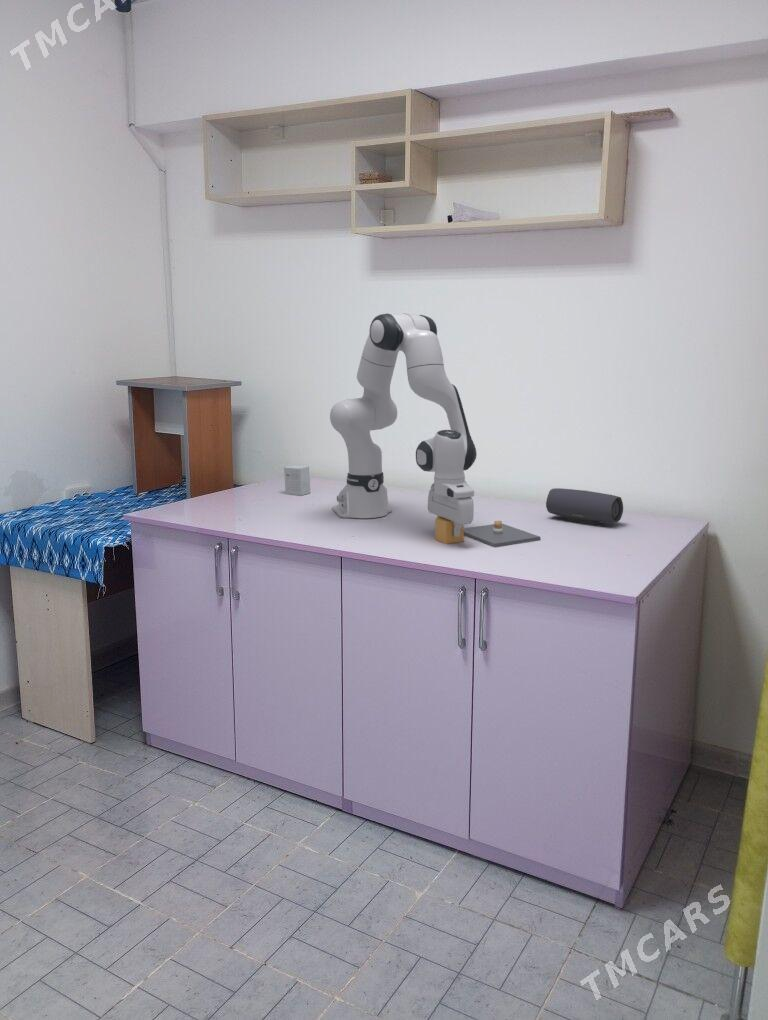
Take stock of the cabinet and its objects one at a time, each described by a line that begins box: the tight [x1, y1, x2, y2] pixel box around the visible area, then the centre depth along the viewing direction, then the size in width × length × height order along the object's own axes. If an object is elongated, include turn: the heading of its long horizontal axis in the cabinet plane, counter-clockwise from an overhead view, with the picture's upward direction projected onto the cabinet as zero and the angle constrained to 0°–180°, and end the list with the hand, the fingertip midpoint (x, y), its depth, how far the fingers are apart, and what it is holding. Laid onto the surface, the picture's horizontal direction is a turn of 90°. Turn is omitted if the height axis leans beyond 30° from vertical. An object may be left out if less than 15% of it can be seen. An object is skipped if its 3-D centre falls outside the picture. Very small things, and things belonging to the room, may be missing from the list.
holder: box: [464, 520, 541, 548], centre depth 247 cm, size 20×16×4 cm
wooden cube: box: [434, 517, 465, 545], centre depth 243 cm, size 6×6×6 cm
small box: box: [283, 464, 311, 496], centre depth 315 cm, size 8×6×10 cm
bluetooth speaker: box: [545, 487, 624, 525], centre depth 263 cm, size 23×9×10 cm, turn 48°
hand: (449, 533), depth 243 cm, fingers closed on wooden cube, 6 cm apart
